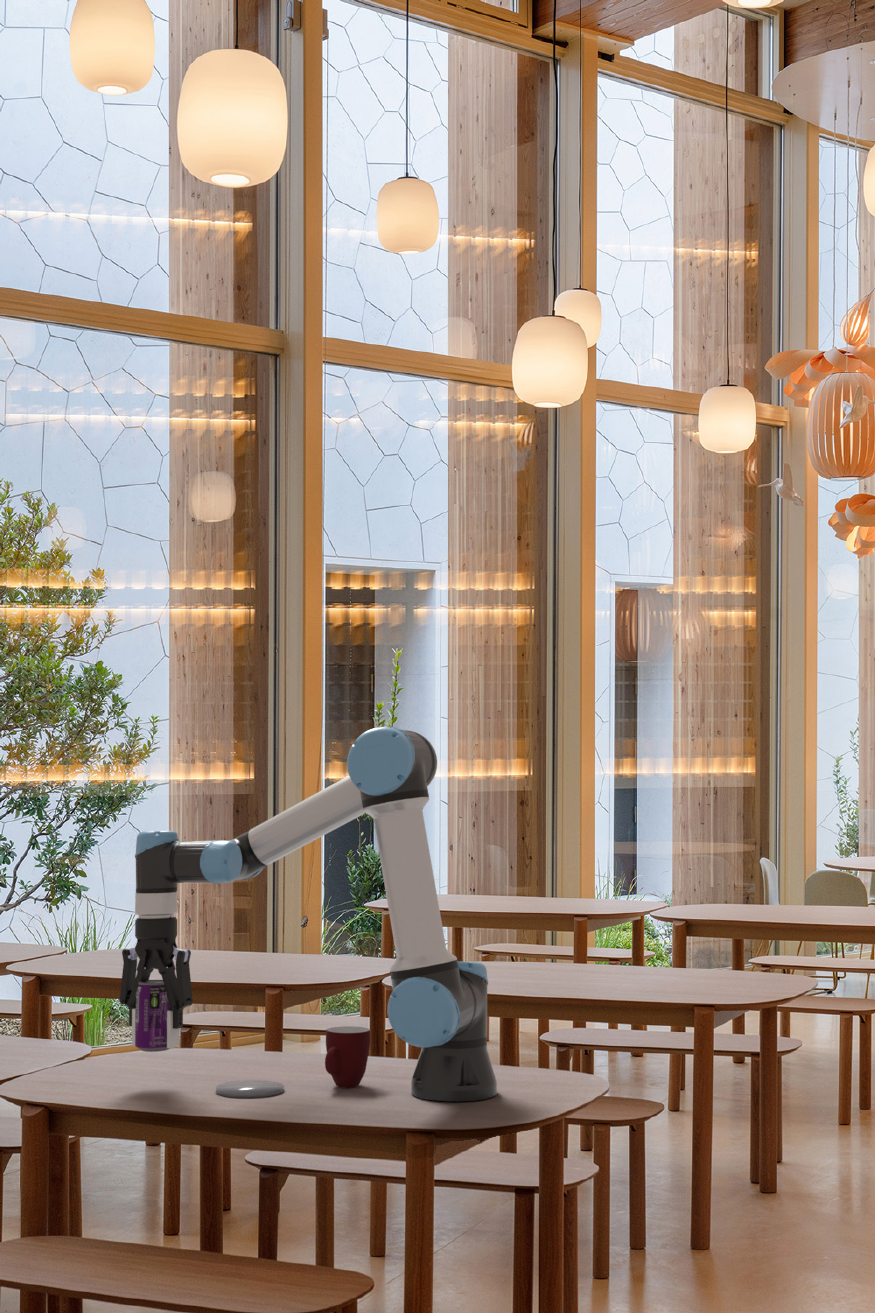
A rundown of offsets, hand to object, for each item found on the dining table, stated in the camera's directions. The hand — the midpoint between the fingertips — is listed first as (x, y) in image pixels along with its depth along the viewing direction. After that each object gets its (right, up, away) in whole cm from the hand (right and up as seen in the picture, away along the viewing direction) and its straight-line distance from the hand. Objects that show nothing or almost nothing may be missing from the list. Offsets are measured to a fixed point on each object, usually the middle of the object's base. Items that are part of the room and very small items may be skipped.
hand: (155, 1046), depth 250 cm
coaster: (+17, -7, -3) cm, 19 cm away
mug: (+34, -8, +1) cm, 35 cm away
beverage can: (0, -1, 0) cm, 1 cm away
